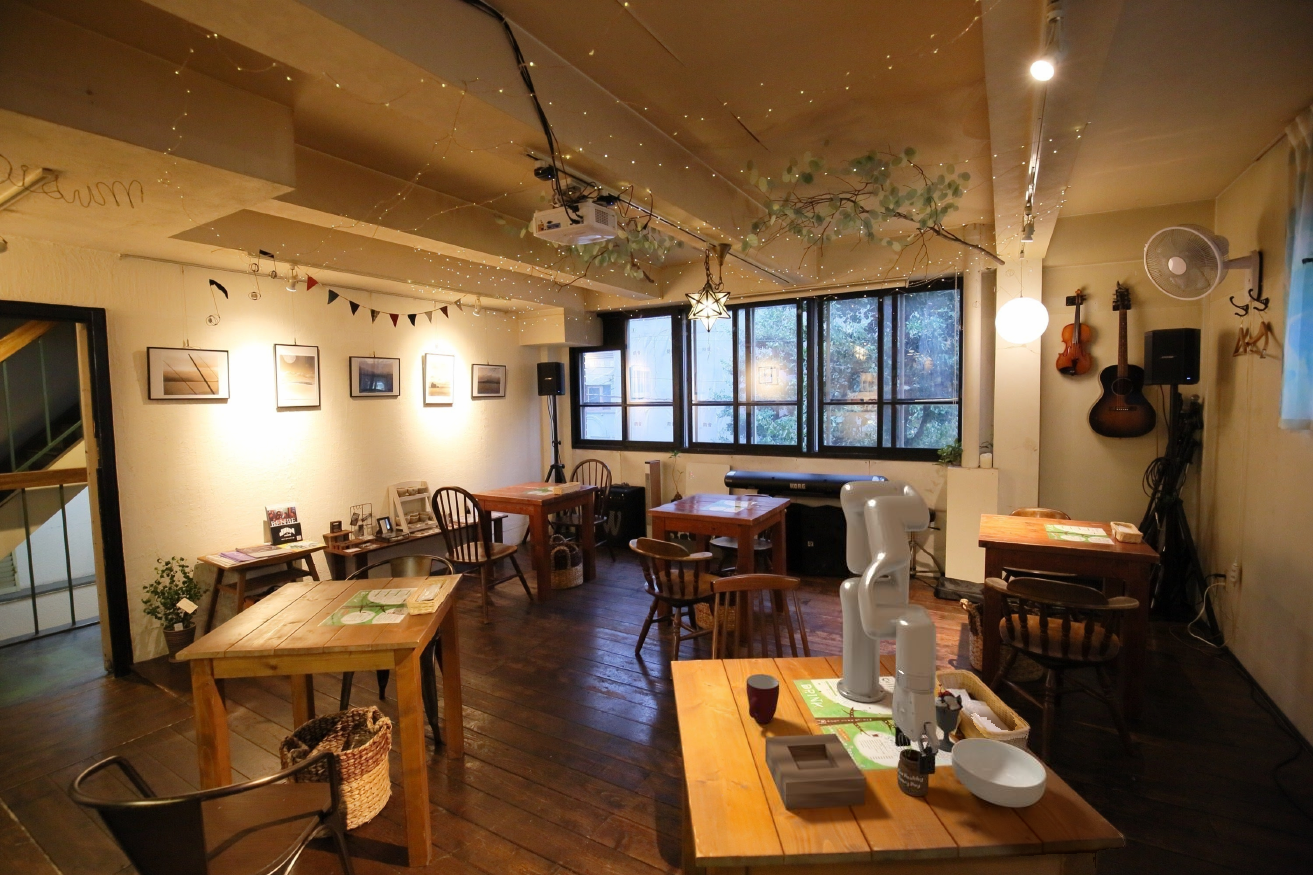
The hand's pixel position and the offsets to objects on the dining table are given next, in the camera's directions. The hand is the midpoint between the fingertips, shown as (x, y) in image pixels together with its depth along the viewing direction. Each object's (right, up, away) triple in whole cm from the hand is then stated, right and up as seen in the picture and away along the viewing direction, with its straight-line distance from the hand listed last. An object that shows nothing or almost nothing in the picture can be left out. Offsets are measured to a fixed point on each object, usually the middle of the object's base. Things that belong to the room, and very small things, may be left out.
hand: (914, 758), depth 124 cm
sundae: (+14, -6, +16) cm, 22 cm away
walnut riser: (-20, -7, +3) cm, 21 cm away
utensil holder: (0, -7, +1) cm, 7 cm away
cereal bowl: (+16, -7, -1) cm, 18 cm away
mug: (-27, -5, +27) cm, 38 cm away
